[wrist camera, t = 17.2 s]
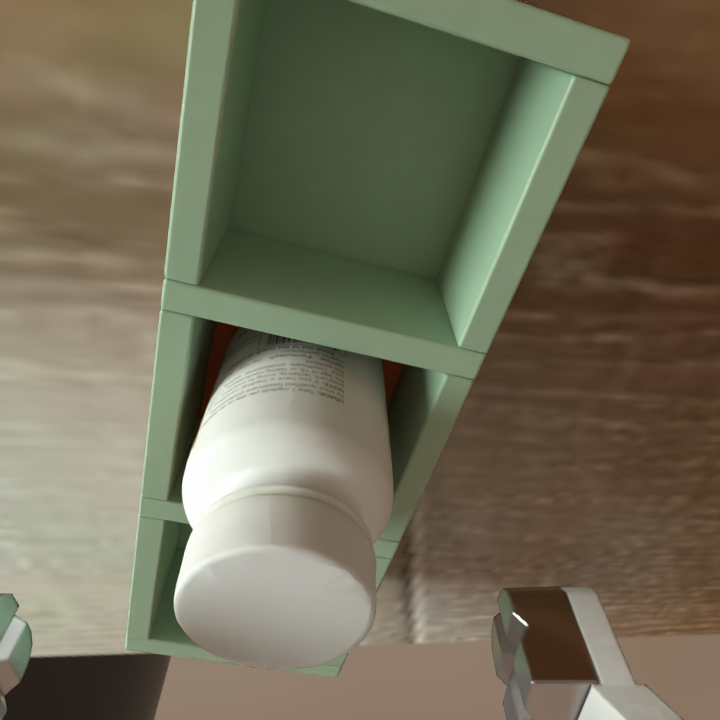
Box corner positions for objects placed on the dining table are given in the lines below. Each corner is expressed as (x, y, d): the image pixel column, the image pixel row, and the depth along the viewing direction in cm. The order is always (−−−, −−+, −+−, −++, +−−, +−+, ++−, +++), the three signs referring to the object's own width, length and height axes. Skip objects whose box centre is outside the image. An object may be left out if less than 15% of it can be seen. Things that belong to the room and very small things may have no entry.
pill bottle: (192, 354, 16) (84, 603, 9) (316, 265, 15) (290, 483, 8) (294, 450, 18) (263, 712, 11) (412, 379, 17) (454, 631, 10)
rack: (339, 573, 22) (337, 679, 19) (160, 543, 21) (123, 650, 18) (555, 27, 13) (634, 40, 9) (246, -78, 12) (202, -108, 8)
